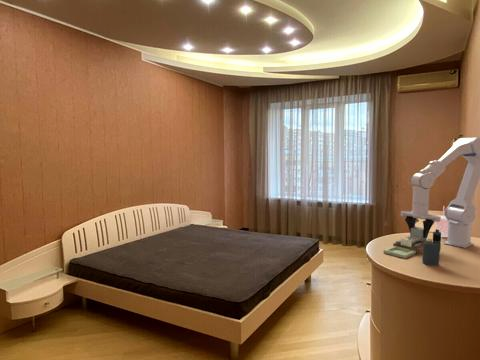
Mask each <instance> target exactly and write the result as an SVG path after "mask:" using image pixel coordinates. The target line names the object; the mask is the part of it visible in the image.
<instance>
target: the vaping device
mask: <svg viewBox="0 0 480 360" xmlns="http://www.w3.org/2000/svg"><path fill="white" fill-rule="evenodd" d="M441 241H442V237H441V232H439V230H438V229H436V228H435V231H433V232H432V241H431V240H428V239H426V240H425V242H424V244H423V252H422V258H421V259H422V260H421V261H422V263H423V264H424V265H426V266H428V265H429V266H439V265H440V253H441V247H442V244H441V243H442V242H441ZM432 242H433V243H432Z"/></svg>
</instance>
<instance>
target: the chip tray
mask: <svg viewBox="0 0 480 360" xmlns="http://www.w3.org/2000/svg"><path fill="white" fill-rule="evenodd" d="M383 254H385V255H388V256H393V257H396V258H401V259H408V258H410V257H412V256H414V255H417V254H416V251H415V250H410V249H406V248H402V247H397V246H393V245H392V246H391V247H388V248H386V249H383Z"/></svg>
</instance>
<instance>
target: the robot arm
mask: <svg viewBox="0 0 480 360" xmlns="http://www.w3.org/2000/svg"><path fill="white" fill-rule="evenodd" d="M460 155H461V156H462V157H463V159H465V160H466V161H467V165H466V167H465V171H464V173H463V177H462V180H461V183H460V185H459V188H458V191H457V194H456V197H455V198H454V199H452V200H451V201H450V202H449V204H448V206H447V207H446V208H444V216H445V217H446V218H447V221H448V222H449V223H448V238H447V239H446V241H444V242H443V244H444V245H450V246H454V247H459V248H463V249H465V248H468V247H470V246H472V245H473V244H474V243H473V242H471V239H472V237H471V236H472V227H471V225H472V223H474V221H475V219H476V209H477V207H476V206H475V205H474V203H473V199H474V196H475V193H476V190H477V187H478V185H479V181H480V136H478V137H476V136H475V137H460V138H458V139H456V141H454V142H453V143H452V146H451V147H450V148H449V149H448V150H447V151H446V152H445V153H444V154H443V155H442V156H441V157H440V158H439V159H438V160H437V159H436V160H430V161H429V162H428V165H426V167H424V168H423V169H421V170H420V171H419V172H416V173H414V174H413V175H412V176H411V179H409V180H410V181H409V182H410V185H411V186H412V188H411V189H412V204H411V205H412V206H411V207H412V208H411V211H406V210H405V211H404V210H401V211H400V217H405V218H404V220H405V223H406V224H407V227H408V231H409V235H410V234H411V228H413V227H416V222H417V219H420V220H422V225H423V227H422V228H424V232H423V238H428V237H429V236H428V235H429V232H430V231H431V228H432V227H433V225H434V224H435V223H436V222H440V220H441V217H440V216H441V215H435V214H430V213H429V208H430V207H429V206H430V205H429V203H430V189H431V187H433V185H434V183H435V181H436V179H437V178H438V177H440V176H441V174H443V173H444V172H445V171H446V166H447V165H449V164H450V163H452V162H453V161H454V160H455V159H457V158H458V157H459V156H460Z"/></svg>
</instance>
